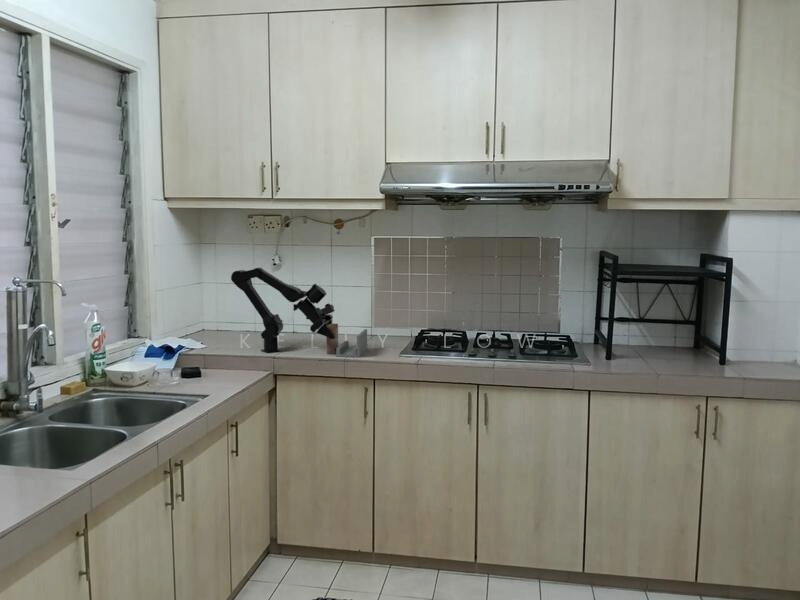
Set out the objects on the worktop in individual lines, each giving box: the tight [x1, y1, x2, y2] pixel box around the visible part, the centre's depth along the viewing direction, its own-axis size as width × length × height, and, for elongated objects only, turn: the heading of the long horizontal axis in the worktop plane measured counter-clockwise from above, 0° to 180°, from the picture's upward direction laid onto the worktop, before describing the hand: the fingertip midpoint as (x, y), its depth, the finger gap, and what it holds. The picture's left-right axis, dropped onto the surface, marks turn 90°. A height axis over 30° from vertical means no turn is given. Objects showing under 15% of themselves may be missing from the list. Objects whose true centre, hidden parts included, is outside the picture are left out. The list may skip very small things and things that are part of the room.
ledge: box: [335, 328, 368, 358], centre depth 274 cm, size 10×18×9 cm, turn 173°
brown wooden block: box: [325, 323, 339, 355], centre depth 275 cm, size 4×6×12 cm
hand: (335, 337), depth 275 cm, fingers closed on brown wooden block, 6 cm apart
